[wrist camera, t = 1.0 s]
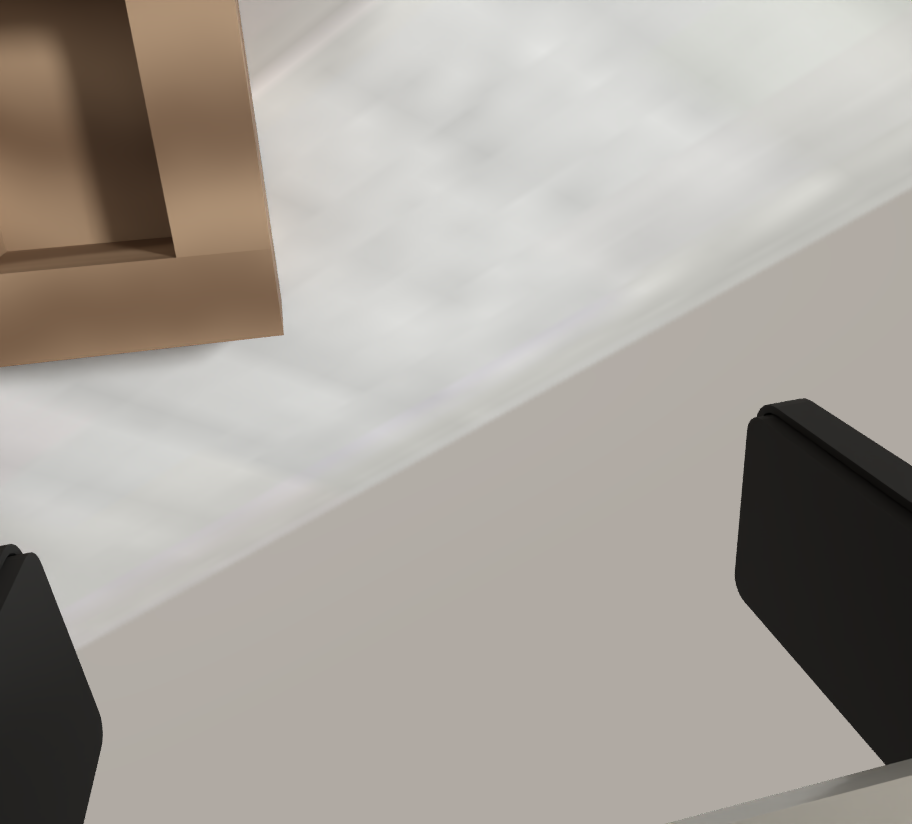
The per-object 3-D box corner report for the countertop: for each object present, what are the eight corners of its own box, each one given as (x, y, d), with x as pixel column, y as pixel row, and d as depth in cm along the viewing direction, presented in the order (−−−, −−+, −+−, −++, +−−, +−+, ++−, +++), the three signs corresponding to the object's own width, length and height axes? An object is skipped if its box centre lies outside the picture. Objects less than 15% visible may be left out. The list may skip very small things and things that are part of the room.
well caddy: (-202, -109, 27) (-294, -140, 22) (221, -114, 29) (213, -144, 25) (-51, 335, 34) (-99, 378, 29) (281, 300, 36) (283, 334, 32)
